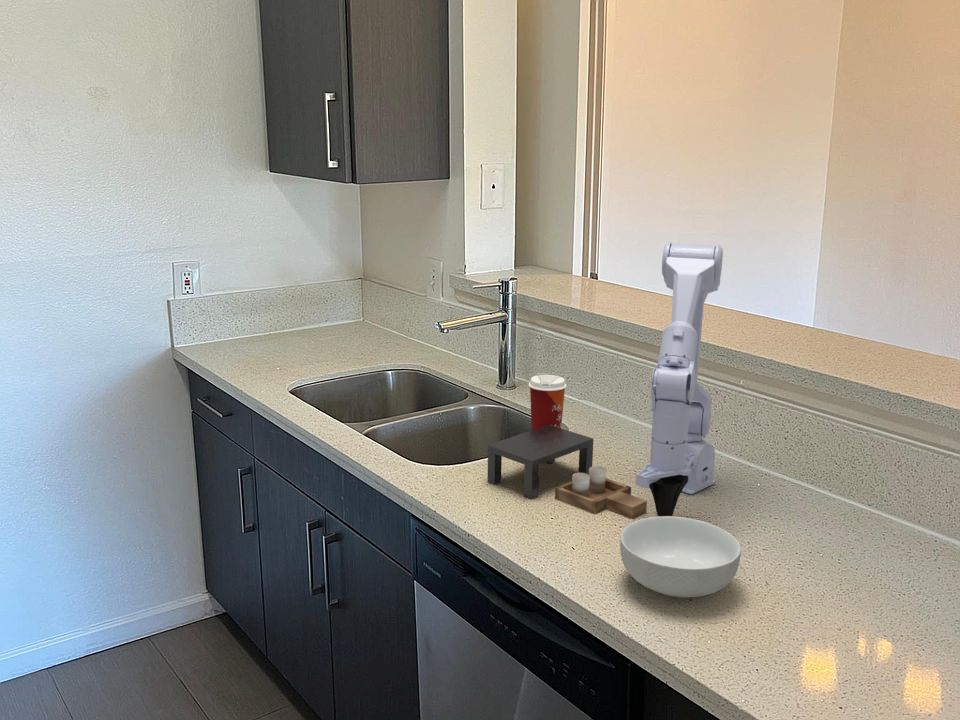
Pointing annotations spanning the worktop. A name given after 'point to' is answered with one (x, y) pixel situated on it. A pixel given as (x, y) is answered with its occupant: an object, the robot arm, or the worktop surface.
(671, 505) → the robot arm
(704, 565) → the cereal bowl
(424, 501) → the worktop surface
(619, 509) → the tray
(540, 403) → the paper cup
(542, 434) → the riser
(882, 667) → the worktop surface
